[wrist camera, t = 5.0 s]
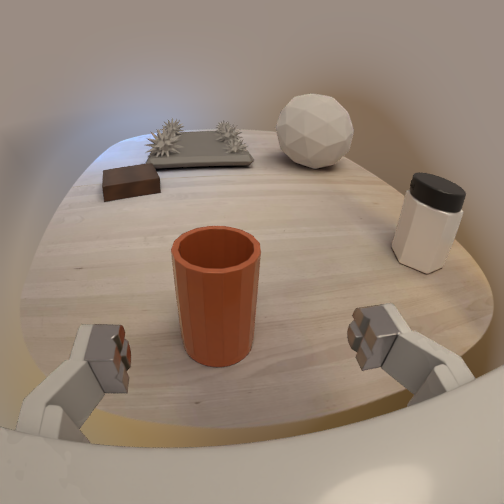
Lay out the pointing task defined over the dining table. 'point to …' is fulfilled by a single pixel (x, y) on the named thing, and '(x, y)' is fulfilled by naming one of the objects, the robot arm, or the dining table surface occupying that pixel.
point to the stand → (130, 182)
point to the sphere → (314, 130)
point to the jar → (428, 222)
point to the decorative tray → (197, 147)
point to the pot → (216, 292)
